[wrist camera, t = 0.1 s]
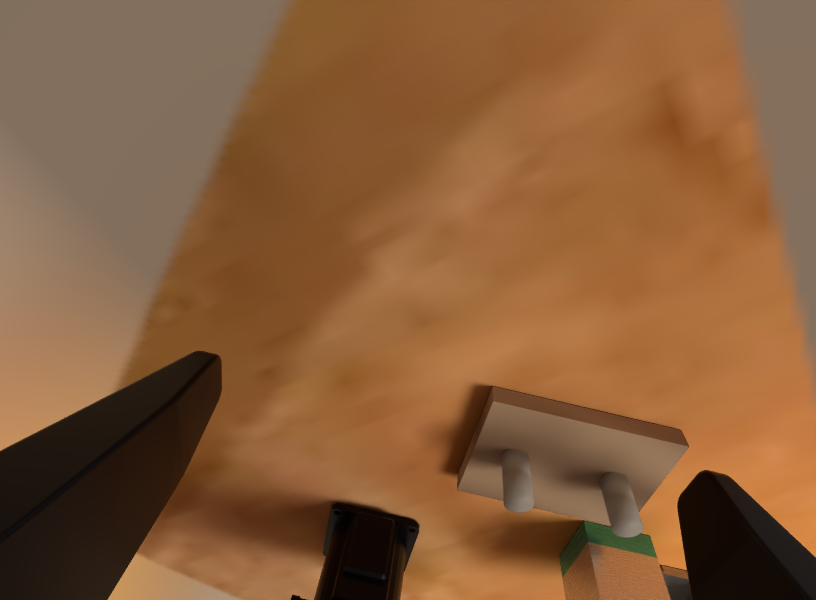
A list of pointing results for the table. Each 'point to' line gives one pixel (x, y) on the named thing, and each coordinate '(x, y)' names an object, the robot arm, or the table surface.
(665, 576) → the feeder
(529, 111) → the table surface
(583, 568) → the sleeve
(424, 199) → the table surface
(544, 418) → the pin board
